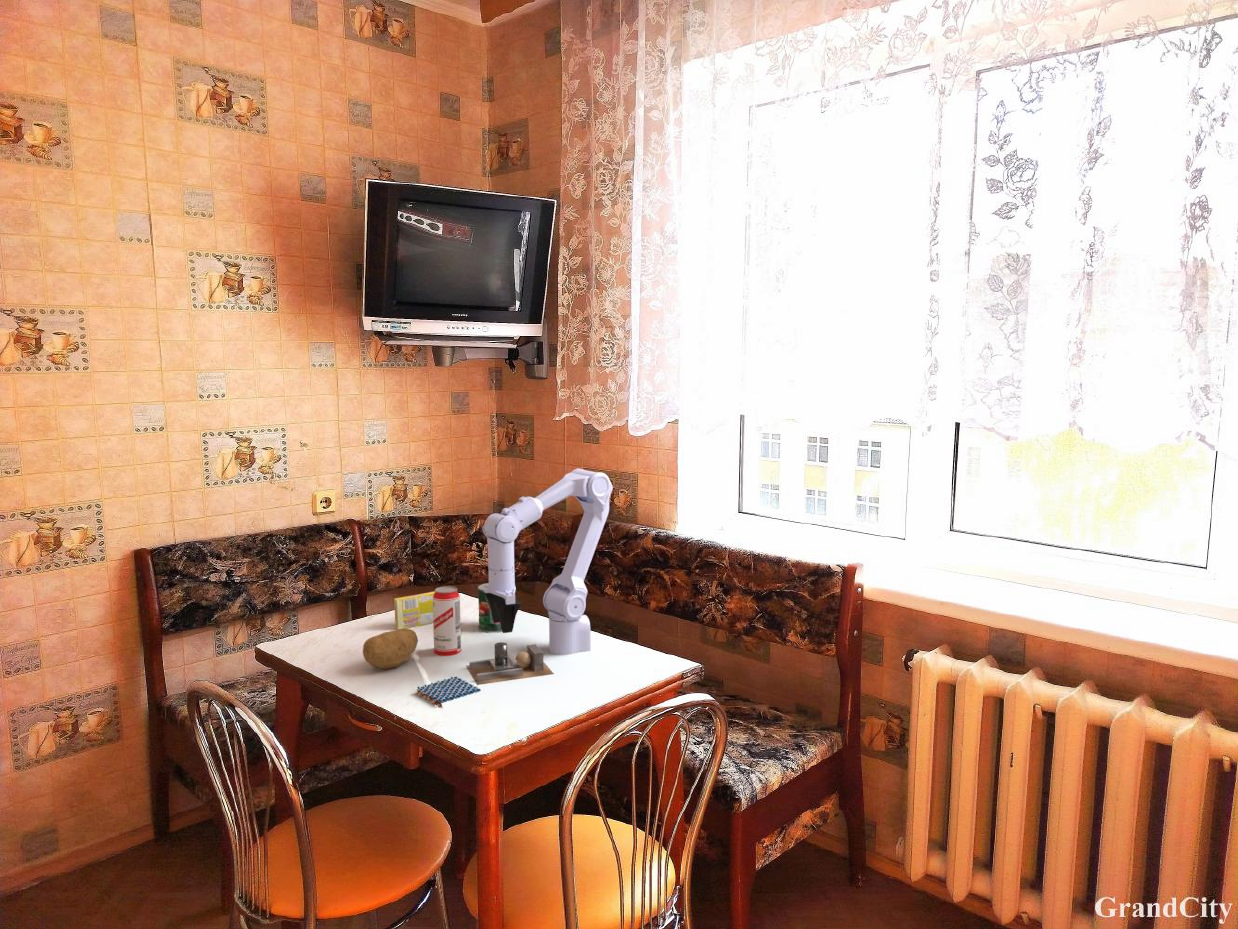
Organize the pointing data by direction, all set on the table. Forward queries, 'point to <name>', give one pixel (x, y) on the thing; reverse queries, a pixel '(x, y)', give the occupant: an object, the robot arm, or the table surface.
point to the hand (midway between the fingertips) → (502, 627)
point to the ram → (502, 659)
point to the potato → (390, 648)
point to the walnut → (523, 659)
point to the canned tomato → (486, 613)
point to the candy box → (413, 610)
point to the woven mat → (446, 690)
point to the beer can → (446, 621)
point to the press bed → (486, 675)
